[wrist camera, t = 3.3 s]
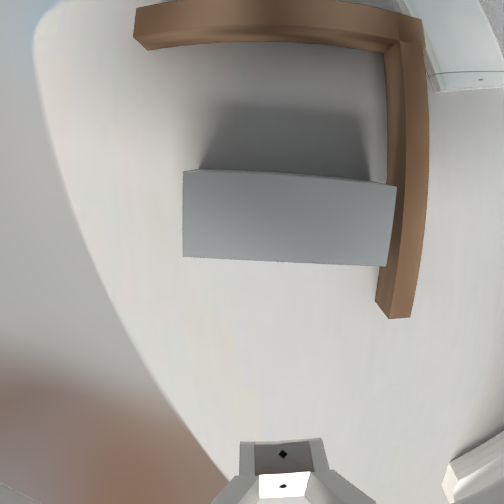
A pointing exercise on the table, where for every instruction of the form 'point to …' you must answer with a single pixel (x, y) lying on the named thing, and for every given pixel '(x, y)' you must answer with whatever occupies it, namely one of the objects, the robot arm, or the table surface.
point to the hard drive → (458, 44)
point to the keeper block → (286, 217)
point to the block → (475, 469)
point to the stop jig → (345, 35)
